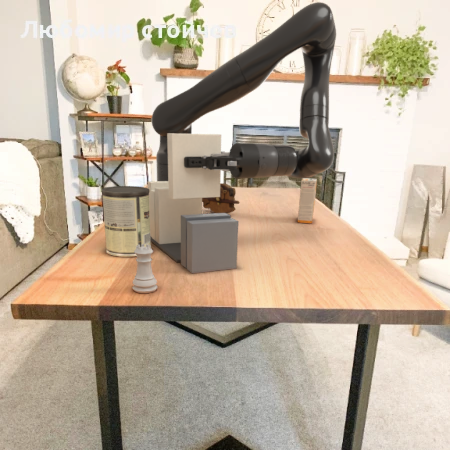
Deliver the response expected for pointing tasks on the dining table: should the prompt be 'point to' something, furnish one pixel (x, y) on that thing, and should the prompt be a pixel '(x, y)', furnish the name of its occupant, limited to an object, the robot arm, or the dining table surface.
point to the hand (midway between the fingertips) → (182, 161)
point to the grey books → (209, 242)
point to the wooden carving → (222, 200)
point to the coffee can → (126, 219)
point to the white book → (192, 177)
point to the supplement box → (307, 200)
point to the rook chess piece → (144, 270)
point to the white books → (168, 217)
